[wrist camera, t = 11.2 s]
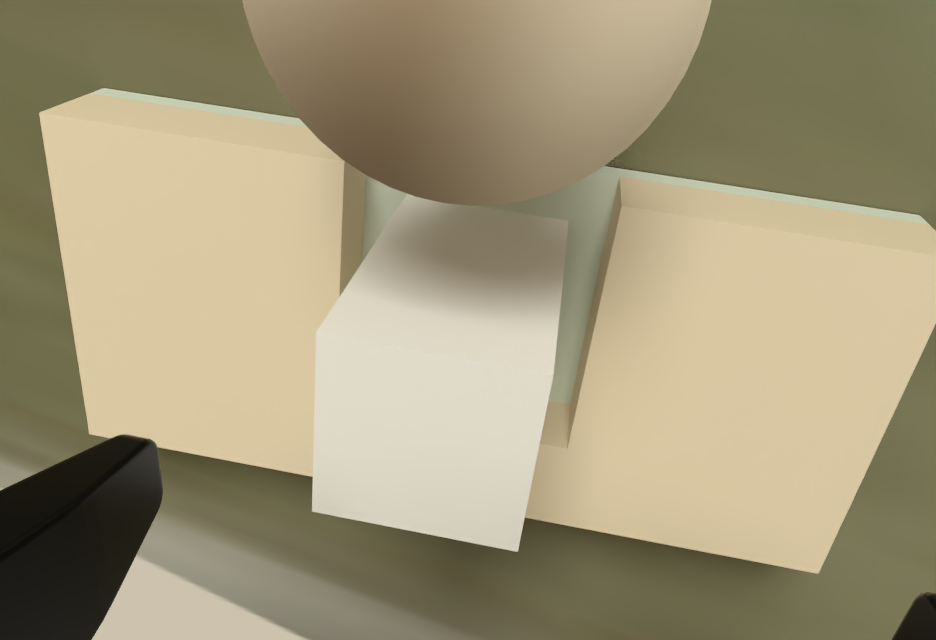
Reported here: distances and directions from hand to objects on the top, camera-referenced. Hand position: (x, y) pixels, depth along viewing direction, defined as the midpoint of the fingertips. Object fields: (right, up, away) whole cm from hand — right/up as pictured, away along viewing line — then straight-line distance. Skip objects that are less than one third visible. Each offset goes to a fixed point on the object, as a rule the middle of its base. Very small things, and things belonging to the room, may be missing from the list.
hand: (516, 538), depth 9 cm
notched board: (0, +3, +12) cm, 12 cm away
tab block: (0, +4, +11) cm, 11 cm away
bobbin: (+1, +11, +7) cm, 13 cm away
